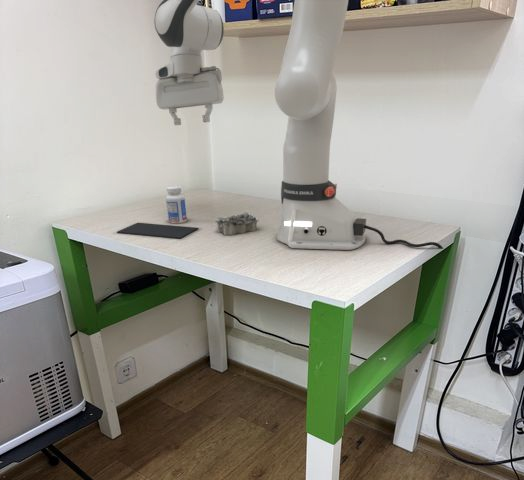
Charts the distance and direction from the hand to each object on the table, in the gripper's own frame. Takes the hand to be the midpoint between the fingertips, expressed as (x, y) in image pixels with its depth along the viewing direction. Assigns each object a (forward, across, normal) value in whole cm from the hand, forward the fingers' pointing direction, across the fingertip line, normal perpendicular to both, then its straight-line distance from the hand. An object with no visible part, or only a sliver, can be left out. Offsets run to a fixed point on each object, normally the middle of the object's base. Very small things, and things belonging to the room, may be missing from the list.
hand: (192, 123), depth 140 cm
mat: (+28, +4, +20) cm, 35 cm away
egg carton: (+30, -18, +14) cm, 37 cm away
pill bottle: (+27, +3, +9) cm, 29 cm away
